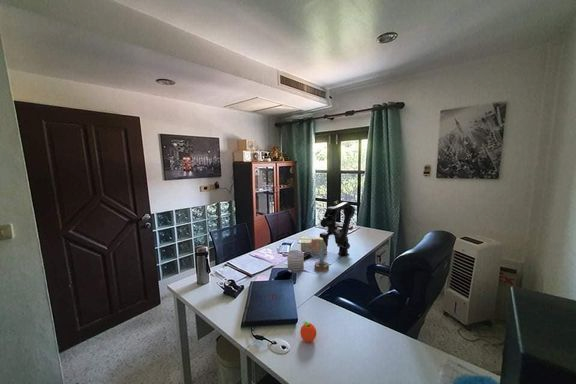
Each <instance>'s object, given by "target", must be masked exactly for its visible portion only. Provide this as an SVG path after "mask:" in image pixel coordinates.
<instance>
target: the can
mask: <svg viewBox="0 0 576 384" xmlns="http://www.w3.org/2000/svg"><path fill="white" fill-rule="evenodd" d="M286 254H287V270H288V269H289V270H291V271H293V272H295V273H294V274H300V273H302V272H304V269H305V267H304V265H305V264H304V263H305V262H304V261H305V260H304V256H305V253H303V252H301V250H298V249H293V250H292V249H290V250H289V251H288V252H286Z"/></svg>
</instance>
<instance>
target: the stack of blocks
mask: <svg viewBox="0 0 576 384" xmlns="http://www.w3.org/2000/svg"><path fill="white" fill-rule="evenodd" d="M321 250H322V251H324V255H325V254H328V246H326V244H325V242H324V240H323V238H321V237H320V236H311V239H309V240H308V239H301V240H300V251H301V252H311V253H310V254H320V252H319V251H321Z"/></svg>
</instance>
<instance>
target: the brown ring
mask: <svg viewBox="0 0 576 384" xmlns="http://www.w3.org/2000/svg"><path fill="white" fill-rule="evenodd" d="M329 267H330V264H329V262H327V261H325V260H324V266H320V260H318V261H316V262H314V270H315V271H317V272H323V273H325V272H327V271H329V270H330V269H329Z"/></svg>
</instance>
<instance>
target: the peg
mask: <svg viewBox="0 0 576 384" xmlns="http://www.w3.org/2000/svg"><path fill="white" fill-rule="evenodd" d="M319 252H320V253H319V261H320V266H324V261H325V254H324V251H322V250H321V251H319Z"/></svg>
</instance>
